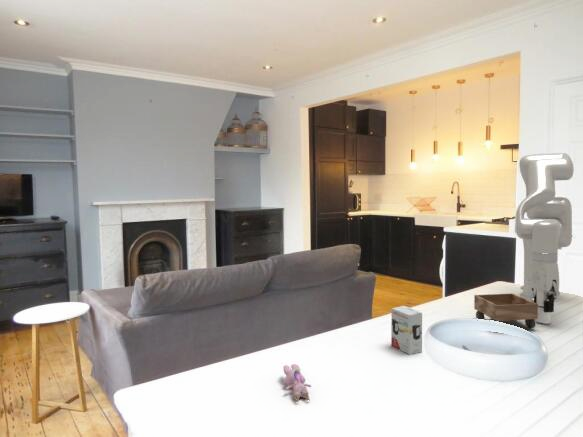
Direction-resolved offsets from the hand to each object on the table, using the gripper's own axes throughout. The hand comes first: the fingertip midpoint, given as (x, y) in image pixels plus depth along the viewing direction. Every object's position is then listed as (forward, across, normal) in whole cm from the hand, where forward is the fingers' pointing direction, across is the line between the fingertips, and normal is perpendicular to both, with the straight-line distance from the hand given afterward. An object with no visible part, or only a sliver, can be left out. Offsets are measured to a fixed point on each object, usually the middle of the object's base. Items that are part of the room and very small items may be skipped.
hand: (543, 309), depth 145 cm
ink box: (+4, +16, -54) cm, 57 cm away
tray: (+5, 0, -14) cm, 15 cm away
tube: (+5, 0, 0) cm, 5 cm away
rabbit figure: (+4, +38, -89) cm, 97 cm away
